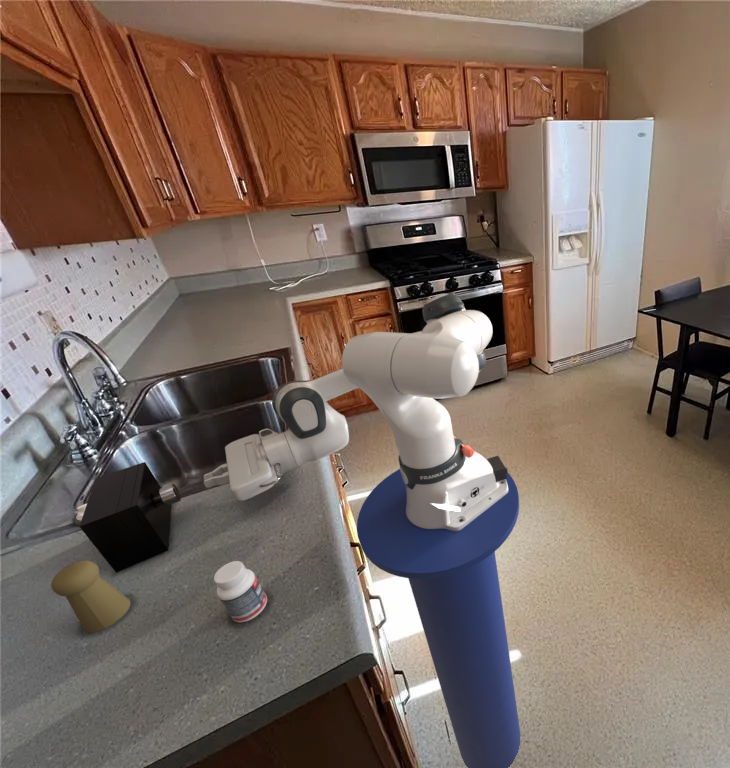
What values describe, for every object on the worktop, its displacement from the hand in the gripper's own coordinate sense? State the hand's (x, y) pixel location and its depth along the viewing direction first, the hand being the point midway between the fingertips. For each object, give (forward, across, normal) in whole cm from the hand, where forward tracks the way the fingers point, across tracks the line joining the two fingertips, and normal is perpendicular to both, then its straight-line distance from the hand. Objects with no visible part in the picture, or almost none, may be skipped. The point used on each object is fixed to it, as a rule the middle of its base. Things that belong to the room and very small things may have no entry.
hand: (204, 481), depth 86 cm
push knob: (+7, +1, -2) cm, 8 cm away
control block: (+13, +1, -7) cm, 15 cm away
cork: (+17, -17, -8) cm, 25 cm away
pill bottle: (-3, -32, -8) cm, 33 cm away
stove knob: (+22, +17, -7) cm, 29 cm away
